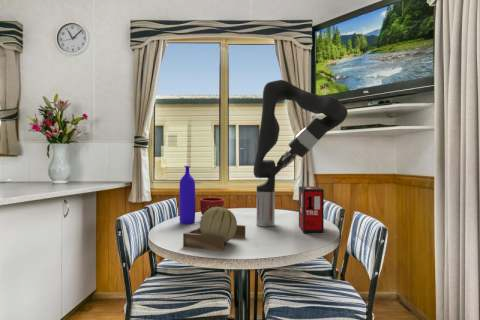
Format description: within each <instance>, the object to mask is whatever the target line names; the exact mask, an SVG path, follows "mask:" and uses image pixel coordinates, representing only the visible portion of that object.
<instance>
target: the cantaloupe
mask: <svg viewBox="0 0 480 320" xmlns="http://www.w3.org/2000/svg"><path fill="white" fill-rule="evenodd" d="M201 216H202V218H201V217H200V222H199V227H200V231H201V233H202V235H212V236H222V237H224V244H225V243H228V242H229V241H231V240H233V236H234V234H235V232H236V229H237V225H238V224H237V223H238V221H237V217H236V216H235V214H234V213H233V212H232V211H231V210H230V209H227V208H226V207H225V204H224V205H223V207H212V208H210V209H208V210H207V211H206V212H205V213H204V214H203V215H201Z"/></svg>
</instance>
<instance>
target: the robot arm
mask: <svg viewBox="0 0 480 320" xmlns="http://www.w3.org/2000/svg"><path fill="white" fill-rule="evenodd" d="M283 101H292V102H295V103H296V104H297V105H298V107H299V108H301V109H302V110H305V111H308V112H309V113H313V114H316V115H320V114H323V115H324V117H322V118H318V117H315V118H313V120H311V121H310V122H309V123H308V124H307V125H306V127H304V128H303V129H302V130H300V132H299V133H298V134H297V135H295V137H294V138H293V139H292V140H290V142H289V143H288V147H289V148H290V150H287V151H285V152H284V153H283V154H282V155H281V157H280V158H279V159H278V161H277V162H275V160H273V159H265V157H266V155H267V154H268V153H269V152H270V151H271V150H272V149H273V148H274V146H276V145H277V142H278V140H279V137H280V136H279V135H280V130H281V129H280V124H279V121H278V119H277V118H276V114H275V113H276V105H277V104H278V103H280V102H283ZM261 109H262V112H261V121H260V127H259V133H258V143H257V151H256V154H255V159H254V164H253V176H254V177H255V178H257V179H267V180H265V182H263V183H260V184H258V185H257V186H256V221H255V222H256V224H255V225H256V226H258V227H263V228H264V227H265V228H266V227H274V226H275V223H276V222H275V218H276V217H275V214H276V212H275V210H276V209H275V206H276V205H275V197H276V195H275V192H276V191H275V190H276V189H275V188H276V175H278V174H279V173H280V172H281V171H282V170H283V169H284V168H287V167H288V166H289V165H290V164H291V163H292V162H294V161H295V160H296V157H297V156H299V157H300V158H304V157H305V156H306V154H307V153H309V152H310V151H311V150H312V148H314V147H315V145H316V144H317V143H318V142H319V141H320V140H321V139H322V138H323V137H324V135H326V134H327V133H328V132H330V131H331V130H333V129H334V128H336V127H338V126H339V125H341V124H342V123H343V122H344V121H345V120H346V118H347V116H348V114H349V112H348V109H347V107H346V106H345V104H343V103H342V101H340V100H339V99H338V98H336V97H333V96H325V95H324V96H322V95H318V94H316V93H312V92H310V91H306V90H304V89H301V88H299V87H298V86H296V85H294V84H292V83H290V82H288V81H287V80H284V79H277V80H273V81H269V82H266V84H265V85H264V87H263V91H262V108H261Z"/></svg>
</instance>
